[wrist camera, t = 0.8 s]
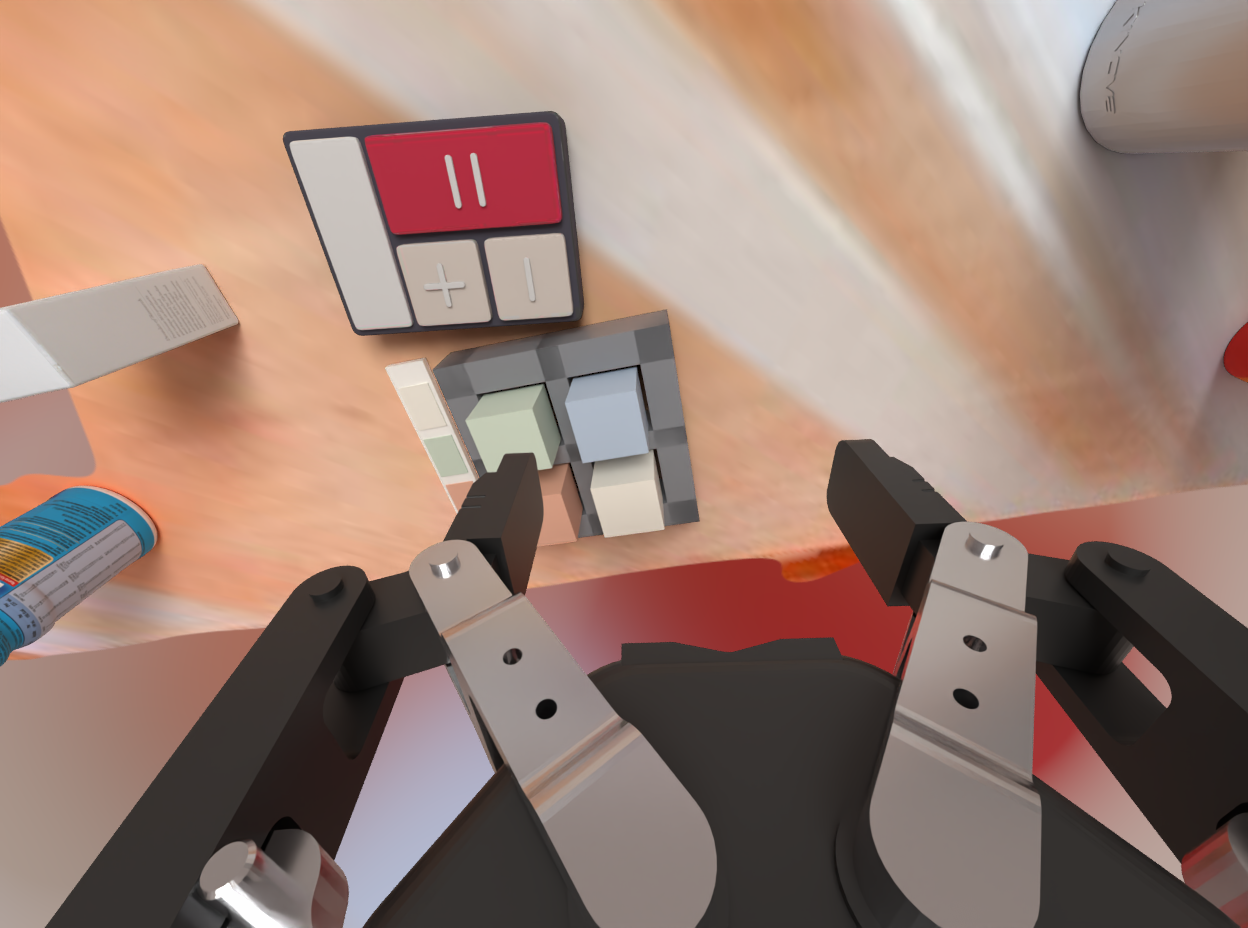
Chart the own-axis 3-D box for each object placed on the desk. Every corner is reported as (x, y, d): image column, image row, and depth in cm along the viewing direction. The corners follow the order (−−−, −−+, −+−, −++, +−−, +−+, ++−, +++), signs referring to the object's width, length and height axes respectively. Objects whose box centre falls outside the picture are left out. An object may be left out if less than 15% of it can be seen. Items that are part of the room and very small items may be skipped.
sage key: (543, 383, 32) (532, 408, 29) (561, 438, 34) (552, 468, 31) (483, 394, 33) (465, 420, 29) (504, 448, 35) (489, 478, 32)
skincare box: (172, 339, 35) (-23, 408, 24) (130, 279, 32) (-104, 328, 22) (244, 324, 34) (73, 390, 24) (206, 261, 32) (0, 304, 22)
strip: (425, 357, 35) (421, 360, 34) (498, 523, 43) (496, 529, 42) (388, 364, 35) (383, 368, 34) (468, 528, 43) (465, 533, 43)
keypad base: (666, 309, 32) (669, 323, 29) (695, 495, 40) (699, 521, 37) (450, 352, 34) (432, 369, 31) (519, 520, 43) (510, 546, 40)
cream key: (653, 449, 35) (654, 479, 31) (662, 496, 37) (664, 529, 34) (595, 458, 35) (590, 489, 32) (608, 504, 38) (604, 537, 34)
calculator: (582, 324, 30) (348, 340, 30) (585, 307, 33) (377, 322, 34) (558, 107, 24) (268, 130, 24) (565, 116, 28) (314, 136, 28)
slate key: (636, 366, 31) (635, 390, 28) (648, 424, 34) (648, 452, 30) (573, 378, 32) (564, 402, 29) (588, 434, 34) (582, 463, 31)
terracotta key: (568, 462, 36) (560, 493, 32) (582, 508, 38) (576, 541, 34) (513, 471, 36) (500, 502, 33) (531, 515, 38) (520, 549, 35)
